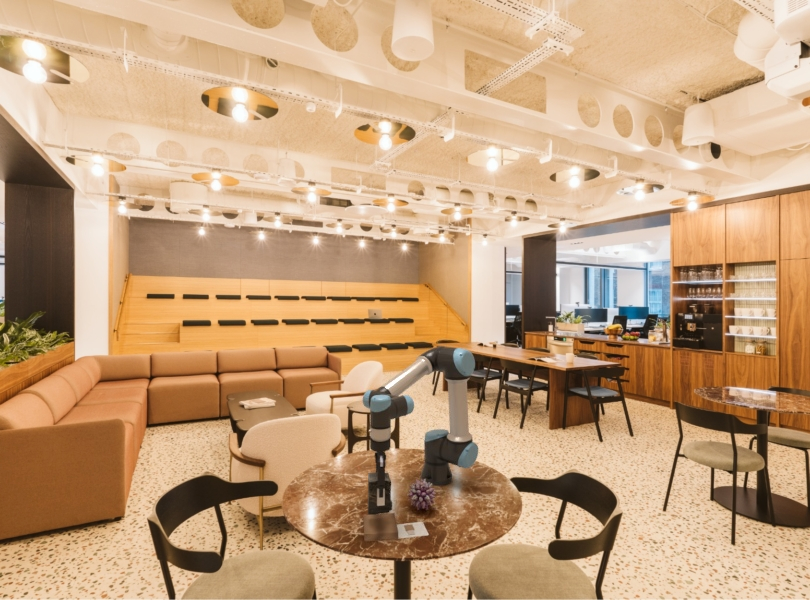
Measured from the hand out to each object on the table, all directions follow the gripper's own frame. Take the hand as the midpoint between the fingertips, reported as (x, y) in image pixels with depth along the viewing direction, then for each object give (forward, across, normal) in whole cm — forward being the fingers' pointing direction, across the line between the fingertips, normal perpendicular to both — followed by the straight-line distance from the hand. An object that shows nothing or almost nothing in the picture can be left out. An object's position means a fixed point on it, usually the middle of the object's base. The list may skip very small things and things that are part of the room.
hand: (380, 500), depth 152 cm
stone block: (+5, 0, 0) cm, 5 cm away
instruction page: (+12, +1, +11) cm, 16 cm away
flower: (+12, -14, +18) cm, 26 cm away
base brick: (+12, 0, 0) cm, 12 cm away
